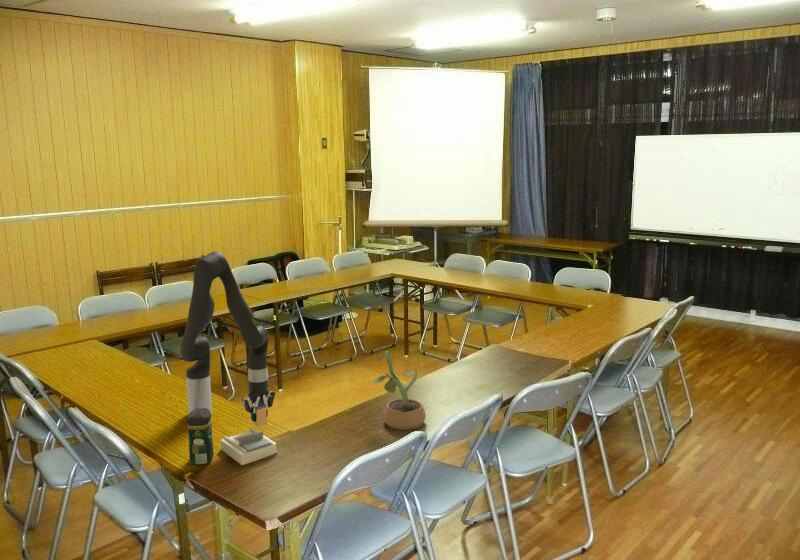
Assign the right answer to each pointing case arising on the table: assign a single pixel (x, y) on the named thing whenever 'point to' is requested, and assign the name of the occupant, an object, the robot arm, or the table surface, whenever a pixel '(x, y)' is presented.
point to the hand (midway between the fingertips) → (259, 419)
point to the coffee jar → (200, 436)
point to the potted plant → (401, 401)
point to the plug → (260, 415)
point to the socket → (241, 455)
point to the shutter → (253, 441)
